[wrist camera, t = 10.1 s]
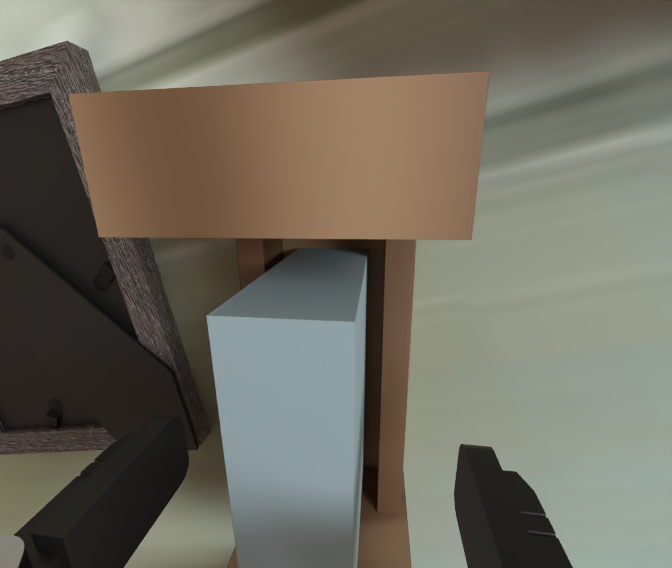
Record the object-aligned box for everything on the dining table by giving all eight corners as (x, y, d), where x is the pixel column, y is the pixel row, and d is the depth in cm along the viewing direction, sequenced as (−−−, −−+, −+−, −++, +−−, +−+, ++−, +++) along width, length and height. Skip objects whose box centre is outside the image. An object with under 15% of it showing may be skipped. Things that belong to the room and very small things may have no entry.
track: (416, 149, 14) (489, 71, 5) (398, 475, 19) (417, 753, 10) (263, 153, 15) (68, 94, 6) (284, 464, 20) (199, 709, 11)
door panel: (368, 248, 14) (355, 322, 6) (364, 442, 17) (351, 658, 9) (281, 247, 14) (169, 313, 7) (291, 436, 17) (221, 635, 9)
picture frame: (214, 426, 21) (96, 55, 15) (197, 450, 19) (57, 36, 14) (12, 438, 24) (-147, 126, 18) (-21, 460, 22) (-209, 118, 16)
